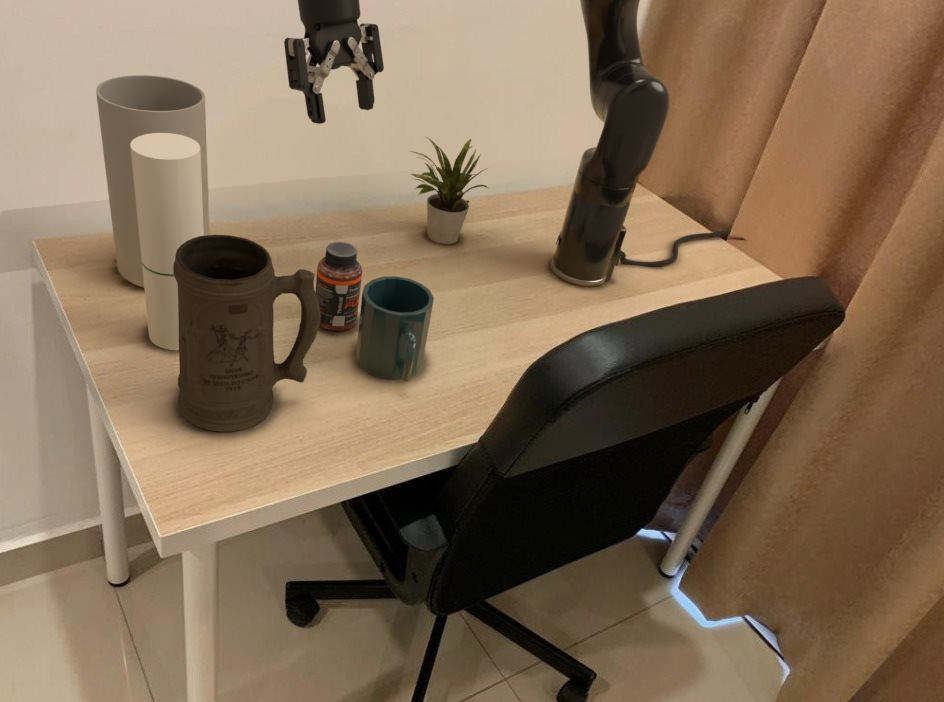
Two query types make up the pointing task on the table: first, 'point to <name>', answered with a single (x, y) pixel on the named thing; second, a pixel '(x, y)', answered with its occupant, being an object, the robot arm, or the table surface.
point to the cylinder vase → (135, 114)
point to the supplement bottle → (338, 286)
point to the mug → (393, 327)
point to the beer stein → (235, 330)
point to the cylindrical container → (165, 221)
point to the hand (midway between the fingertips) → (343, 115)
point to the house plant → (447, 195)
